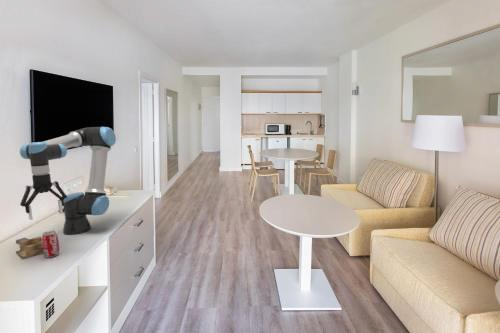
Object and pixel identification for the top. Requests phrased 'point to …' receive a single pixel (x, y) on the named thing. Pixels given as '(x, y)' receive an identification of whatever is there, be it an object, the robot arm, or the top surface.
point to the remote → (21, 240)
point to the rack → (30, 248)
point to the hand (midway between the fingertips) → (46, 215)
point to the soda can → (50, 244)
